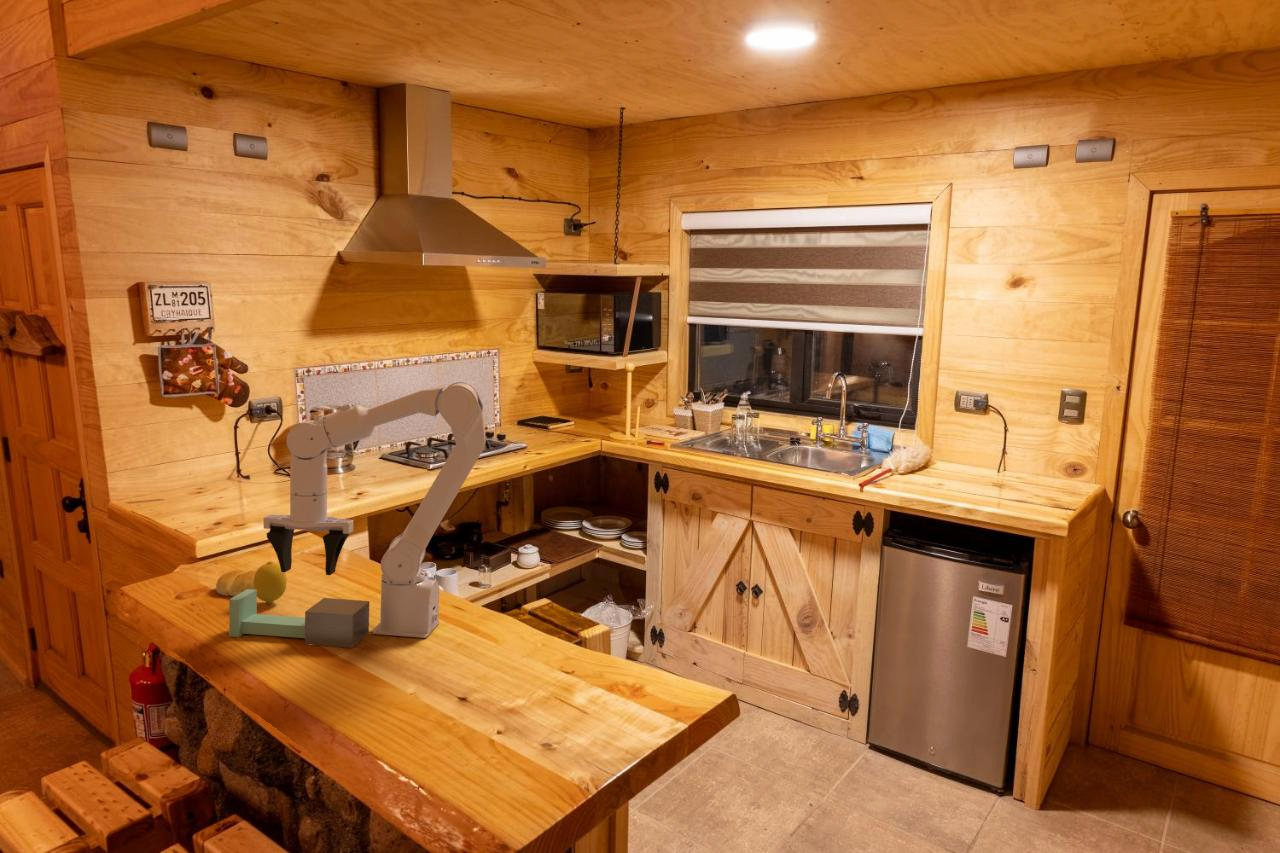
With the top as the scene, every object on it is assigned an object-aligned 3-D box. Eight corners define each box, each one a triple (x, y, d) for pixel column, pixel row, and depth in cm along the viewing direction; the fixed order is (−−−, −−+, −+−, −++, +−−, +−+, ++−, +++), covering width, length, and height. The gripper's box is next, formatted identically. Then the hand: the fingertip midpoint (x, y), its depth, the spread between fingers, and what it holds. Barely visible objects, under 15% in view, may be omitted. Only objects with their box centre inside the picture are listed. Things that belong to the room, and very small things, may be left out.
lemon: (292, 600, 151) (292, 558, 150) (276, 610, 146) (276, 566, 145) (263, 597, 152) (264, 556, 151) (246, 607, 146) (246, 564, 145)
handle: (320, 629, 137) (320, 594, 137) (304, 642, 132) (305, 605, 131) (241, 623, 138) (241, 588, 137) (223, 635, 133) (223, 599, 132)
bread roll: (235, 582, 160) (235, 563, 160) (275, 588, 158) (275, 568, 158) (204, 595, 152) (204, 574, 152) (246, 601, 150) (246, 580, 150)
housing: (368, 632, 138) (369, 601, 137) (352, 648, 131) (352, 615, 130) (323, 629, 138) (324, 597, 138) (304, 644, 131) (305, 611, 131)
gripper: (360, 491, 139) (359, 568, 141) (278, 485, 140) (277, 562, 141) (344, 499, 132) (343, 580, 134) (256, 493, 133) (256, 574, 134)
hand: (308, 572), depth 137 cm, fingers open, 7 cm apart
